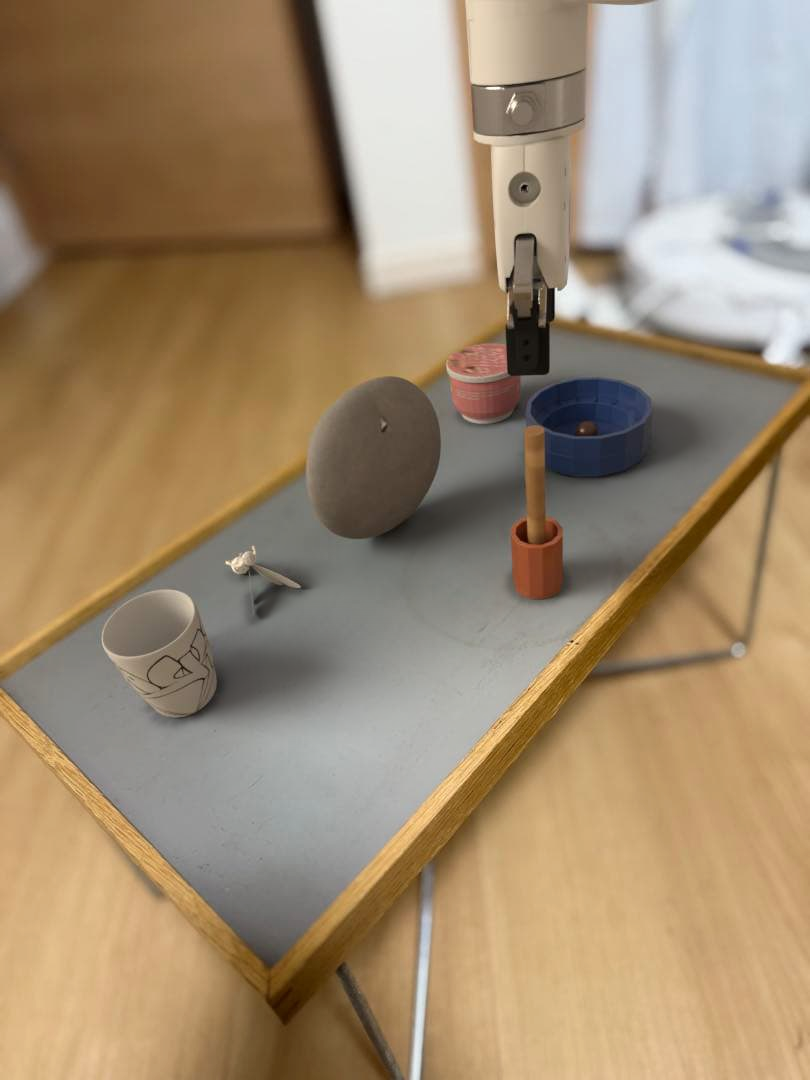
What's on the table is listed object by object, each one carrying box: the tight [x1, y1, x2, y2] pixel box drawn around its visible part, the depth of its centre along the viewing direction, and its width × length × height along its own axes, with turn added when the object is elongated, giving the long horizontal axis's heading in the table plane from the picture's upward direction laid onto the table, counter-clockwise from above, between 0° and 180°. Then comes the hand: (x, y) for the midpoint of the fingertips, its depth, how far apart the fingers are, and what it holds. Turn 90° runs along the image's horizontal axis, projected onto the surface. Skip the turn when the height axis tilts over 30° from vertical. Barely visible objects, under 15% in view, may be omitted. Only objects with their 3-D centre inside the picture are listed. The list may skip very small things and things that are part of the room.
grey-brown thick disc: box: [305, 375, 442, 540], centre depth 78 cm, size 18×7×19 cm, turn 132°
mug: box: [101, 588, 218, 719], centre depth 66 cm, size 11×8×10 cm
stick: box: [523, 425, 547, 545], centre depth 68 cm, size 2×2×18 cm
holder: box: [510, 515, 564, 600], centre depth 71 cm, size 5×5×7 cm
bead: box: [575, 421, 599, 436], centre depth 90 cm, size 3×3×3 cm
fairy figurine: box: [225, 545, 302, 615], centre depth 79 cm, size 6×7×7 cm
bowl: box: [525, 376, 654, 477], centre depth 90 cm, size 15×15×6 cm
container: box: [445, 342, 522, 425], centre depth 100 cm, size 10×10×8 cm
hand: (532, 345), depth 58 cm, fingers open, 9 cm apart
